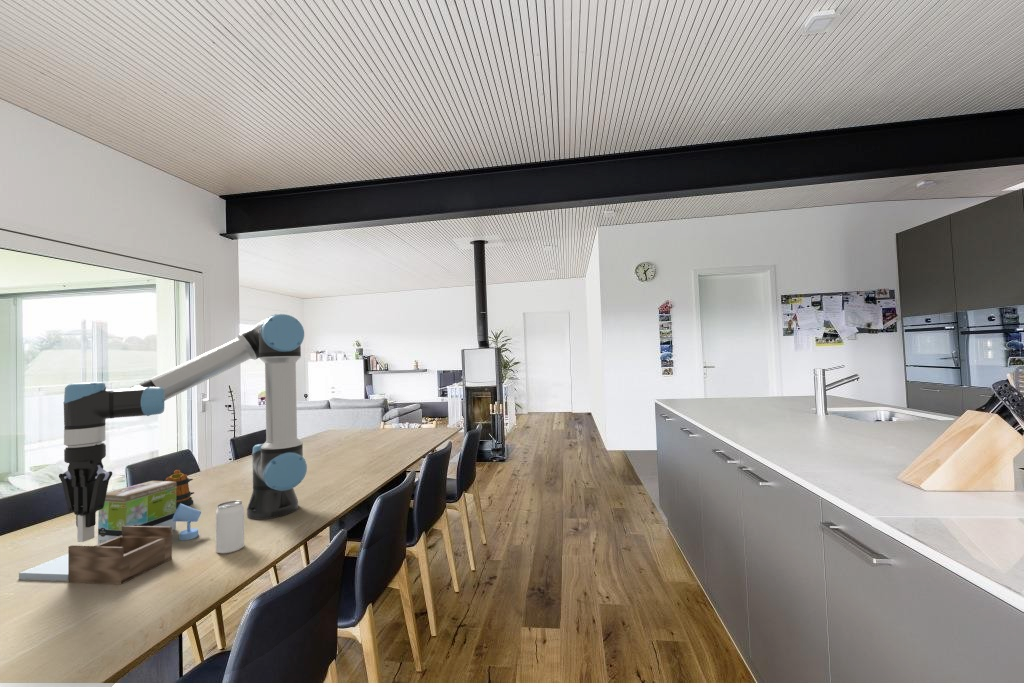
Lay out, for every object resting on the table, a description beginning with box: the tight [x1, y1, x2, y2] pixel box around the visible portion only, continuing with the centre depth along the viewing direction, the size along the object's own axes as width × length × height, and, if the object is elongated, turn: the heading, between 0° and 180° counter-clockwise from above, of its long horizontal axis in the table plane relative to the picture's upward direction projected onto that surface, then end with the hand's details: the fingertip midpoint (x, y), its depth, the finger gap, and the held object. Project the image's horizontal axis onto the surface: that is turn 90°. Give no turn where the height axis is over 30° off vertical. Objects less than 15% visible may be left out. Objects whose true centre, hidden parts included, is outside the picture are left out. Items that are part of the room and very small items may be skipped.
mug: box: [165, 469, 195, 510], centre depth 160 cm, size 13×10×12 cm
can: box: [215, 500, 245, 555], centre depth 120 cm, size 6×6×12 cm
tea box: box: [97, 480, 177, 545], centre depth 130 cm, size 15×10×15 cm, turn 168°
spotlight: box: [172, 503, 202, 541], centre depth 129 cm, size 5×10×7 cm
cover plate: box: [18, 553, 68, 582], centre depth 111 cm, size 13×11×2 cm
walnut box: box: [67, 526, 173, 585], centre depth 110 cm, size 14×13×8 cm
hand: (86, 539), depth 111 cm, fingers closed
